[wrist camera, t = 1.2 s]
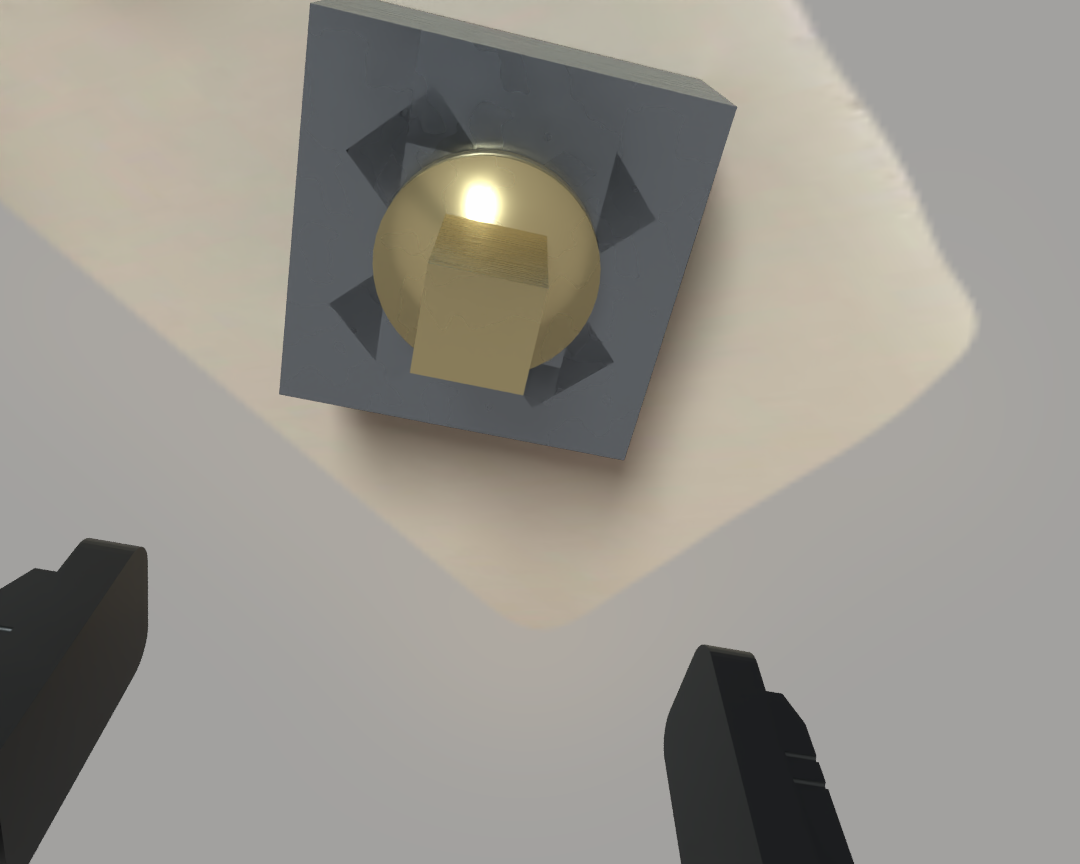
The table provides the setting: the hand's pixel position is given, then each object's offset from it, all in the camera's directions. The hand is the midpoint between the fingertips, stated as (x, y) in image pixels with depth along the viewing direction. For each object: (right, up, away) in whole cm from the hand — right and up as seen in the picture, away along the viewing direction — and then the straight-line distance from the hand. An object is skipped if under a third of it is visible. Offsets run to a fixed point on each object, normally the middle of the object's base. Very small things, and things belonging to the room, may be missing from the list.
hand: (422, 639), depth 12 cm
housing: (0, +11, +19) cm, 22 cm away
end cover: (0, +10, +17) cm, 20 cm away
